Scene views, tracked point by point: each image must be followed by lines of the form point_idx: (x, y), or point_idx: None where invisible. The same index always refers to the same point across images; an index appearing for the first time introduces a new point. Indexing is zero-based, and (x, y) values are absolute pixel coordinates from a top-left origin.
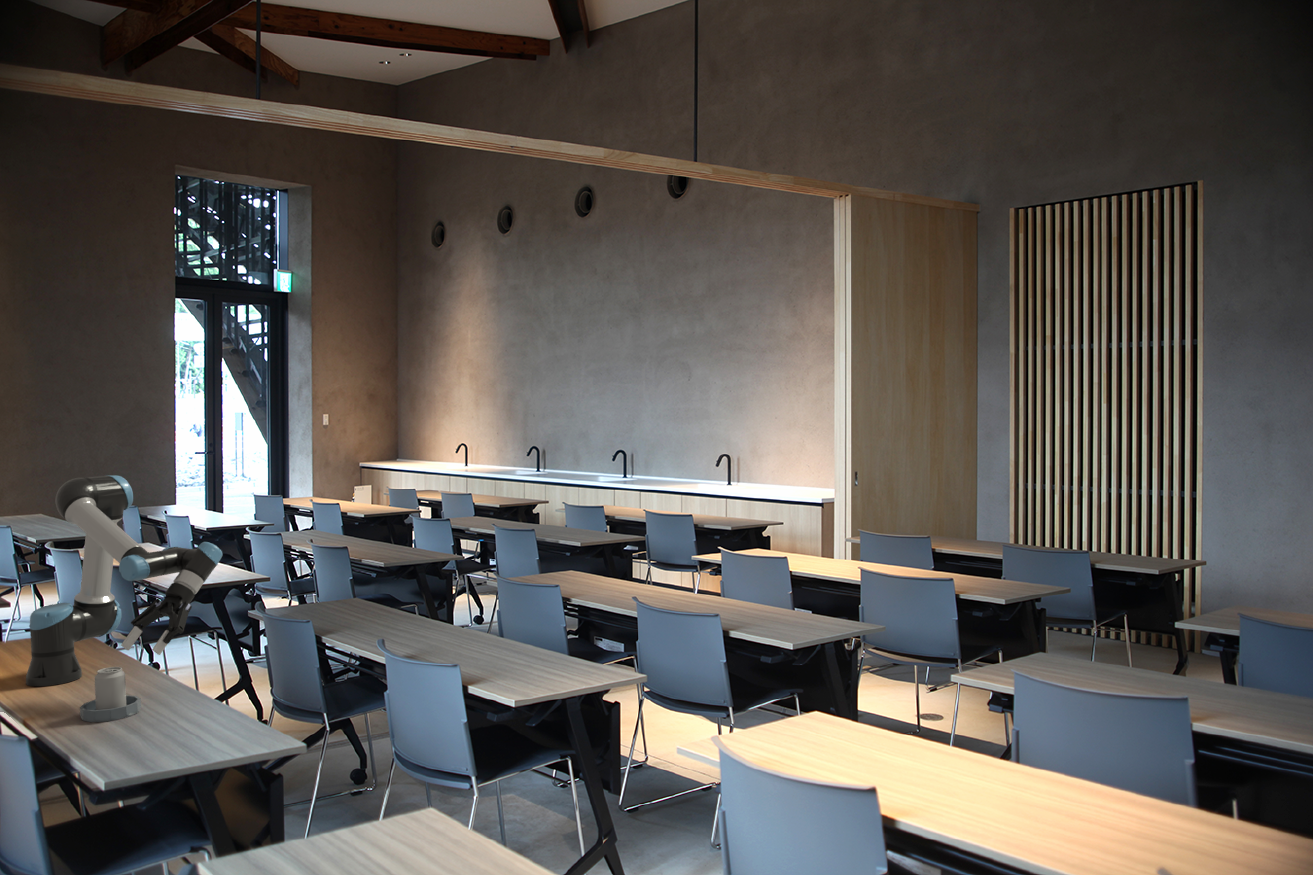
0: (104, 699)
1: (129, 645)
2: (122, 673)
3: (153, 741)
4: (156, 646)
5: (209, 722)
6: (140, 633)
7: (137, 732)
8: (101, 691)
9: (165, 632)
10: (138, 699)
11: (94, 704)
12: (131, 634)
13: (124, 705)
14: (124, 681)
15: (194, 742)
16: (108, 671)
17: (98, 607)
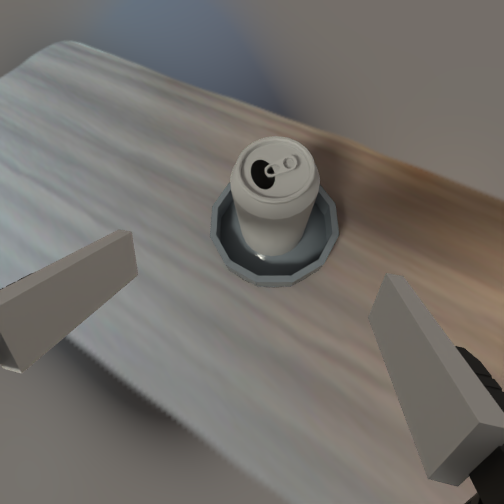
0: (260, 184)
1: (379, 321)
2: (235, 189)
3: (78, 137)
4: (103, 240)
5: (26, 231)
6: (416, 439)
7: (133, 161)
8: (267, 170)
9: (3, 293)
10: (225, 256)
11: (328, 229)
12: (421, 342)
13: (241, 231)
14: (237, 209)
15: (9, 147)
16: (272, 163)
17: None
